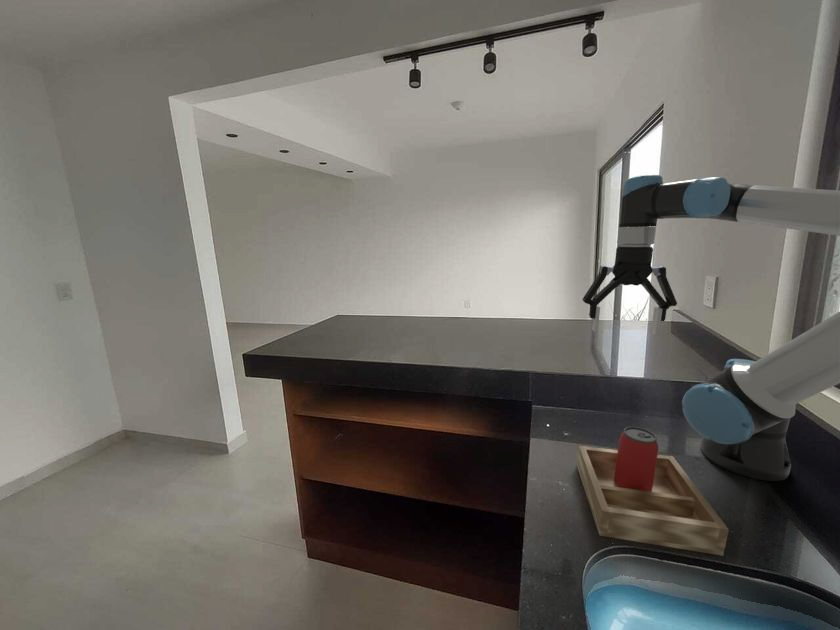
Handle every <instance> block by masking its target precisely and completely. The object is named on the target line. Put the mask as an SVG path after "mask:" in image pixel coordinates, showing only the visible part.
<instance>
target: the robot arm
mask: <svg viewBox="0 0 840 630" xmlns="http://www.w3.org/2000/svg"><path fill="white" fill-rule="evenodd" d="M620 199H621V203H620V205H621V206H620V216H619V217H620V218H619V224H618V226H619V227H618V233H617V240H616V243H617V245H619V246H618V247H616V248H615V258H614V264H613V266H612V267H610V266H606V265H601V266H600V267H599V271H598V274H597V275H596V277H595V279H594V280H593V282H592V283H591V285H590V287H589V288H588V289H587V291H586V293H585V295H584V296H583V297H582V301H583V302H584V303H585V304H588V305H589V313H588V315H589V319H592V323H591V324H592V325H591V330H592V332H594V333H598V332H599V323H600V322H599V321H600V315H601V314H600V313H601V306H600V305H599V304H600V303H601V302H602V301H604V299H605V298H606V297H608V296H609V295H610V294H611V293H612V292H613V291H614V290H615V289H616V288H617V287H619V286H620V285H623V286H632V285H633V286H640V285H641V286H642V287H643V289H644V290H645V291H646V292H647V293H648V294H649V296H650V297H651V299H653V301H654V302H655V303H656V304H657V306H654V308H653V315H652V322H651V329H650V333H651V334H653V335H654V336H659V335H660V330H661V329H660V328H661V322H665V321H666V317H667V316H666V315H667V310H669V309H670V307H676V306H677V305H678V302H677V299H676V297H675V295H674V292H673V290H672V287H671V285H670V282H669V279H668V278H667V268H666V267H665V266H661V265H658V266H656V267H652V260H653V254H654V253H653V252H654V248H653V246H652V245H653V244H655V240H656V239H655V238H656V230H657V225H658V224H657V223H658V219H659V220H665V219H711V220H720V221H725V222H726V221H727V222H736V223H745V224H752V225H760V226H766V227H773V228H782V229H788V230H795V231H802V232H810V233H816V234H817V233H818V234H824V235H825V234H826V235H831V236H838V237H840V190H838V189H837V190H835V189H834V190H833V189H819V188H805V187H804V188H803V187H789V186H787V187H786V186H773V185H758V184H757V185H750V184H742V183H729V182H728V180H727V179H726V178H725V177H722V176H715V177H699V178H696V179H688V180H687V179H686V180H679V181H675V182H674V181H672V182H664V181H663V177H662V176H661V175H660V174H645V175H637V176H631V177H628V178H627V179H626V180H625V181H624V185H623V190H622V195H621V198H620ZM611 273H612V274H613V276H614V277H612V279H611V280H610V281H609V283H608V284H607V285H606V286H605V287H603V289H601V290H600V291H599V292H598V293H597V291H598V290H599V289H600V287H601V285H602V284H603V283H604V281H605V279H606V277H607V276H610V274H611ZM652 273H653V276H655V277H656V280H657V282H658V285H659V287H660V289H661V292H662V295H663V297H664V298H663V297H662V296H661V294H660V293H659V291H657V289H656V288H655V287H654V285H653V284H652V282H651V281H650V280H649V279H648V278H649V276H651V274H652ZM596 293H597V294H596ZM595 294H596V295H595ZM723 369H724V370H722V371H721V372H719V373H717V374H716V375H714V376H713V377H711V378H709V379H708V380H706V381H704V382H702V383H697V384H695V385H692V386H691V387H690V388H689V389H688V390H687V391H686V392H685V394H684V396H683V398H682V401H681V405H682V412H683V416H684V417H685V419H686V422H688V424H689V425H690V426H691V428H692V429H694V430H695V432H697V433H698V434H699V435H700V436H702V438H701V441H700V447H699V448H700V451H701V452H702V454H703V456H705V457H706V458H707V459H708V460H710V461H711V462H713V463H714V464H716V465H718V466H719V467H722V468H724V469H725V470H727V471H730V472H733V473H735V474H738V475H740V476H744V477H747V478H750V479H755V480H761V481H765V482H766V481H768V482H769V481H770V482H779V481H784V480H786V479H788V478H789V475H790V472H791V468H792V464H791V457H790V454H789V451H788V445H787V441H786V437H787V433H788V431H789V430H788V428H789V425H790V421H791V418H793V417H794V416H796V405H797V404H799V403H800V402H803V401H806V400H808V399H809V398H811V397H813V396H815V395H817V394H820V393H823V392H824V391H826V390H828V389H830V388H832V387H834V386H837V385H839V384H840V311H838V312H836V313H834V314H833V315H831V316H830V317H828V318H826V319H824V320H823V321H821V322H819V323H817V324H816V325H815V326H813V327H811V328H810V329H808V330H806V331H804V332H803V333H801V334H799V335H798V336H796V337H794V338H793V339H792V340H790V341H789V340H788V342H786V343H784V344H783V345H781V346H779V347H778V348H776V349H775V350H773V351H771V352H769V353H768V354H766V355H765V356H763V357H761V358H759V359H758V360H756V361H755V360H750V359H742V358H731V359H728V360H727V361H726V363H725V365H724V368H723Z"/></svg>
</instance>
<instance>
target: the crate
mask: <svg viewBox="0 0 840 630" xmlns="http://www.w3.org/2000/svg"><path fill="white" fill-rule="evenodd" d="M617 453H618V449H611V448H610V449H609V448H604V447H603V448H602V447H593V446H585V445H578V451H577V463H576V466H577V470H578V472H579V473H578V474H579V476H580V480H581V482H582V485H583V489H584V492H585V495H586V499H587V501H588V505H589V507H590V511H591V514H592V517H593V520H594V523H595V527H596V530H597V532H598V535H599V536H601V537H607V538H611V539H612V538H613V539H618V540H625V541H629V542H630V541H631V542H637V543H643V544H650V545H655V546H662V547H667V548H674V549H680V550H686V551H691V552H698V553H702V554H703V553H705V554H711V555H716V556H722V557H723V556H724V553H725V550H726V549H725V548H726V545H727V540H728V537H729V536H728V535H729V528H728V527H727V525H726V524H725V523H724V521H723V520H722V519H721V517H720V516H719V515H718V513H717V512H716V511H715V509H714V508H713V507H712V505H710V503H709V502H708V501H707V499H706V497H704V495H703V494H702V493H701V492H700V490H699V489H698V487H697V486H696V485H695V483H694V482H693V481H692V480H691V478H690V477H689V475H688V474H687V472H686V471H685V470H684V469H683V468H682V466H681V465H680V464H679V463H678V461H677V460H676V459H675V457H674V456H672V455H663V454H658V455H657V461H656V468H655V474H654V481H653V487H652V492H650V491H642V490H635V489H627V488H620V487H618V486H617V485H616V484H615V481H614V476H615V468H616V460H617Z"/></svg>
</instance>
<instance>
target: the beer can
mask: <svg viewBox="0 0 840 630" xmlns="http://www.w3.org/2000/svg"><path fill="white" fill-rule="evenodd" d="M657 439H658V437H657V436H656V435H655V433H654V432H652V431H650V430H648V429H646V428H643V427H639V426H626V427H625V428H623V430H622V433H621V434H620V437H619V440H618V444H617V445H618V446H617V450H618V453H617V460H616V468H615V476H614V481H615V484H616V485H617V486H618V487H620V488H627V489H635V490H642V491H650V492H652V487H653V481H654V474H655V468H656V461H657V455H659V444H658V441H657Z"/></svg>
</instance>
